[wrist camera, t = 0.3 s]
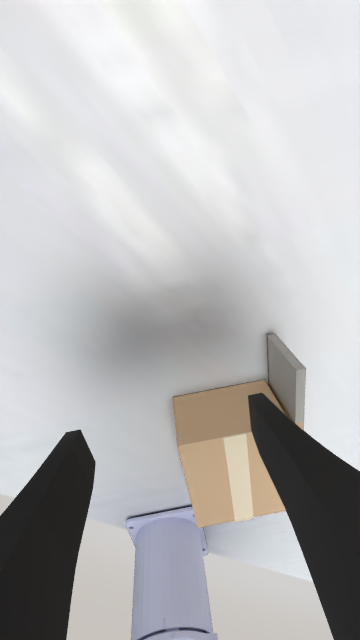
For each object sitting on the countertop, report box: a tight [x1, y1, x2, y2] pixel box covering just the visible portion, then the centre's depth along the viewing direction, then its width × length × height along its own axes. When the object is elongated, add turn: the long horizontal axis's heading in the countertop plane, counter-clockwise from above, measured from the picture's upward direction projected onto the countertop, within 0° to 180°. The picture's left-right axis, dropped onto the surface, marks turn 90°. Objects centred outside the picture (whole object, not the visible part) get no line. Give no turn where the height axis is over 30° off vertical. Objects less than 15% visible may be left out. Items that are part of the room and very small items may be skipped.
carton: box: [173, 380, 286, 528], centre depth 23 cm, size 10×8×5 cm
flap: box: [268, 334, 306, 430], centre depth 22 cm, size 14×1×5 cm, turn 10°
